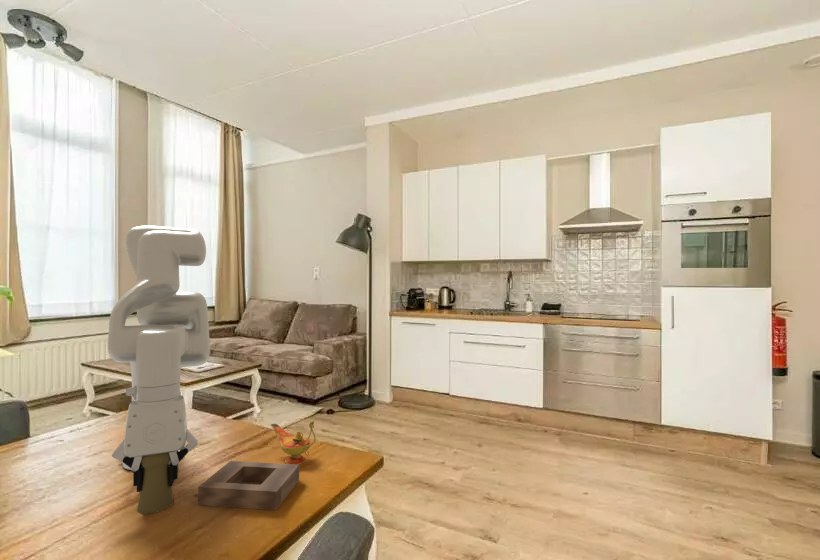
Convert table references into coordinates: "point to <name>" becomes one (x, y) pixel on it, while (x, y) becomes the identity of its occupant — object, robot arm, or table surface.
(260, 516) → the table surface
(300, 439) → the magic lamp
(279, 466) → the shaker holder
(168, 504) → the cork
